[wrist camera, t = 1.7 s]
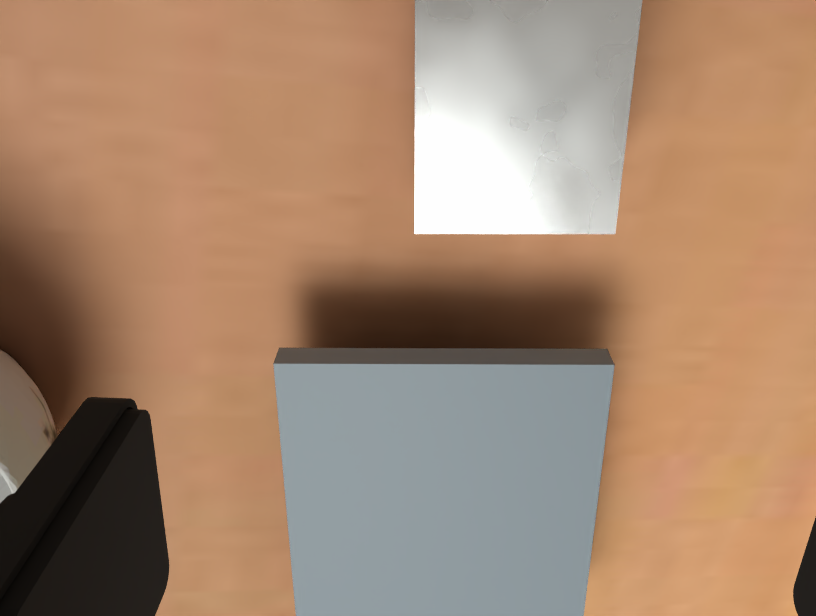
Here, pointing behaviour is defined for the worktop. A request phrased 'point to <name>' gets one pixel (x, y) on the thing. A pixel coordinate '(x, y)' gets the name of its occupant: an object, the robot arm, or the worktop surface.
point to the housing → (522, 114)
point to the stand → (441, 478)
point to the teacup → (21, 425)
